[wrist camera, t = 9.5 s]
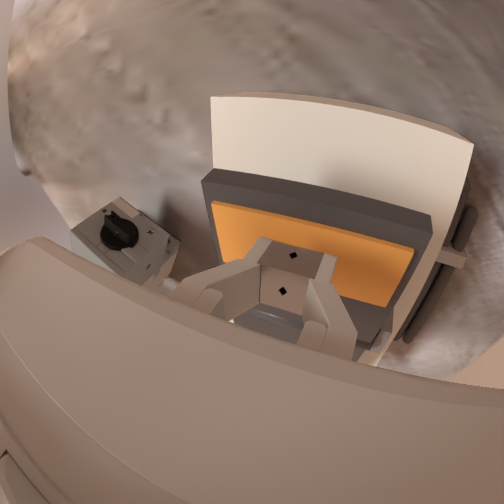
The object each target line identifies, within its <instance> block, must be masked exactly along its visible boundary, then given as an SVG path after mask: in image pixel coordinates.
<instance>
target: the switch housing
mask: <svg viewBox="0 0 504 504" xmlns="http://www.w3.org/2000/svg"><path fill="white" fill-rule="evenodd" d="M211 123H212V148H213V168H218V169H225V170H232V171H239V172H245V173H252V174H258V175H264V176H270V177H275V178H281V179H286V180H292V181H297V182H302V183H307V184H312V185H317V186H321V187H326V188H330V189H335V190H339V191H344V192H348V193H352V194H356V195H360V196H364V197H368V198H372V199H376V200H380V201H384V202H387V203H391V204H395V205H398V206H402V207H405V208H409V209H412V210H415V211H419V212H422V213H425V214H428V215H431V221H432V228H433V235H432V238H431V240H430V242H429V244H428V246H427V248H426V250H425V252H424V254H423V256H422V258H421V260H420V262H419V264H418V266H417V268H416V269H415V271H414V273H413V275H412V277H411V279H410V281H409V282H408V284H407V286H406V288H405V289H404V291H403V293H402V295H401V296H400V298H399V300H398V301H397V303H396V305H395V306H394V308H393V309H392V311H391V313H390V314H389V316H388V317H387V319H386V320H385V322H384V324H383V325H382V327H381V328H380V330H379V331H378V333H377V334H376V336H375V340H374V343H373V345H372V347H371V349H370V350H369V351H368V350H365V351H364V353H363V354H362V355H361V357H360V358H359V359H358V361H357V362H359V363H363V364H367V365H371V366H376V365H377V363H378V362H379V360H380V359H381V358H382V356H383V355H384V353H385V352H386V350H387V348H388V347H389V345H390V344H391V342H392V341H393V339H394V337H395V336H396V334H397V333H398V331H399V329H400V328H401V326H402V324H403V323H404V321H405V319H406V317H407V316H408V314H409V312H410V310H411V309H412V307H413V305H414V303H415V301H416V299H417V297H418V296H419V294H420V292H421V290H422V288H423V286H424V284H425V282H426V280H427V278H428V276H429V274H430V271H431V269H432V267H433V265H434V263H435V261H436V258H437V256H438V254H439V251H440V249H441V247H442V244H443V242H444V239H445V237H446V235H447V232H448V229H449V227H450V224H451V221H452V219H453V216H454V213H455V210H456V207H457V204H458V201H459V198H460V195H461V192H462V189H463V185H464V182H465V178H466V175H467V171H468V167H469V163H470V159H471V155H472V151H473V147H474V144H473V143H471V142H470V141H468V140H467V139H465V138H464V137H462V136H461V135H459V134H458V133H456V132H455V131H453V130H451V129H450V128H448V127H445V126H442V125H439V124H436V123H433V122H430V121H427V120H424V119H421V118H418V117H414V116H411V115H407V114H404V113H400V112H396V111H392V110H388V109H384V108H380V107H375V106H371V105H366V104H361V103H356V102H350V101H345V100H339V99H332V98H325V97H318V96H310V95H301V94H290V93H278V92H260V91H247V92H239V93H232V94H225V95H219V96H213V97H211ZM229 322H232V323H234V321H233V319H232V320H230V321H229Z"/></svg>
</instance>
